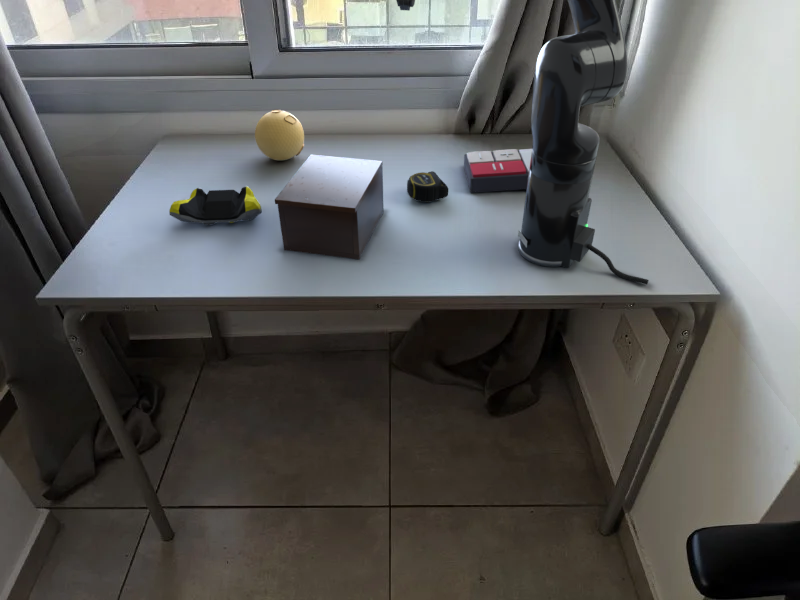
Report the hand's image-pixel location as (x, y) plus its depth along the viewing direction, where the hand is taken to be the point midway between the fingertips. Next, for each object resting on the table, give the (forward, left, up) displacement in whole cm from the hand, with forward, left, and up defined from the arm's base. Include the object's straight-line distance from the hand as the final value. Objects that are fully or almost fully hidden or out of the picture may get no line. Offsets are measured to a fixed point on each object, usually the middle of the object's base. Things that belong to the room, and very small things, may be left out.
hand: (404, 7), depth 98 cm
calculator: (-14, -14, -32) cm, 38 cm away
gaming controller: (+21, +27, -32) cm, 47 cm away
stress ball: (+29, +2, -32) cm, 43 cm away
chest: (+2, +19, -32) cm, 37 cm away
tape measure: (-5, 0, -32) cm, 33 cm away
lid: (+2, +19, -23) cm, 30 cm away
